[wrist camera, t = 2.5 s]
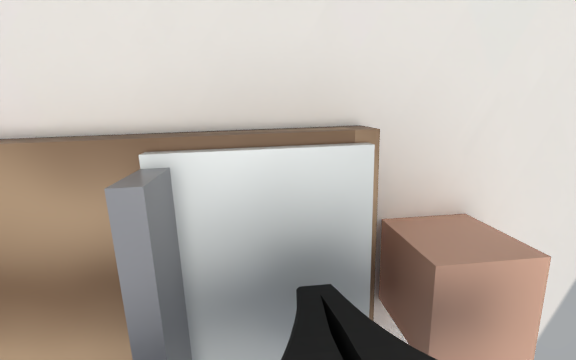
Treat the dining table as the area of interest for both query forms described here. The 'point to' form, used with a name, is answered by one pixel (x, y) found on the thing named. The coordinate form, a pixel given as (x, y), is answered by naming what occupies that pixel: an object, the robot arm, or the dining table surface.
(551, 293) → the dining table surface
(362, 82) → the dining table surface
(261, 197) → the cover
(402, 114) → the dining table surface
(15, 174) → the board
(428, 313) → the block
